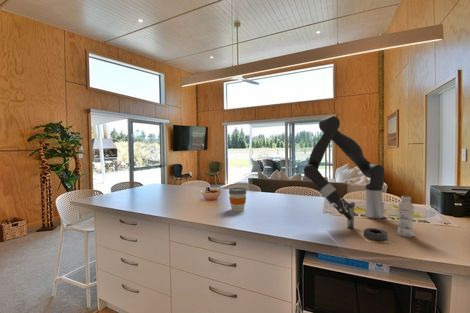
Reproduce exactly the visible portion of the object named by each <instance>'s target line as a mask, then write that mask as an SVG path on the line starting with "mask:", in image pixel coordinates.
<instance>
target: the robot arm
mask: <svg viewBox="0 0 470 313" xmlns="http://www.w3.org/2000/svg"><path fill="white" fill-rule="evenodd" d="M340 126H341V121H340V119H339V117H338V116H335V115H332V116H327V117H325V118H322V119H321V120H320V121H318V128H319V130H320V131H321V132H322V133H323V134H322V135H321V137H320V138H319V139H318V140H317V142H316V143H315V145H314V147H313V148H312V150H311V153H310V155H309V159H308V162H307V164H306V165H305V166H304V167H303V175H304V177H305V178H306V179H309V180H310V181H311V182H312V183H313V185H314V187H316V189H317V190H318V191H319V192H320V193H321V195H322V196H323V197H324V198H325V199H326V201H328V203H329V204H331V205H332V204H333V206H332V207H334V209H336V211H337V212H338V213H339V214H340V215H344V216H345V218H347V219H348V220H350V219H352V216H351V215H350V214H349V213H348V212H347V202H348V201H346V199H344V198H341V197H342V196H343V195H342V193H340V192H339V191H338V189H336V187H334V186H333V185H332V184H331V183H330V182H329V181H328V180H327V179H326V178H325V177H324V175H322V173H321V172H320V171H319V169H320V168H319V167H320V164H321V162H322V160H323V158H324V155H325V153H326V151H327V149H328V148H329V145H330V143H331V141H332V142H333V143H335V145H336V146H337V147H338V148H339V149H340V150H341V152H343V154H345V155H346V156H347V157H348V159H350V161H351V162H352V163H354V164H355V165H356V166H357V168H358V169H359V170H360V171H361V173H362V174H363V176H364V177H365V178H367V179H368V178H369V179H370V181H369V183H367V184H365V196H364V197H365V201H364V202H365V205H364V206H365V207H364V209H365V211H364V212H365V213H364V214H365V217H367V218H371V219H382V218H383V219H384V217H385V216H384V207H385V206H384V201H383V187H384V185H385V168H384V167H383V165H380V164H377V163H371V162H370V161H369V160H368V159H366V157H365V156H364V152H363V149H362V148H361V146H360V145H359V143H357V141H356V140H354V139H353V138H351V137H349V136H347V135H345V134H344V133H342V132H341V131H339V128H340ZM355 215H357V214H356V212H355V211H354V216H355ZM347 219H346V220H347Z"/></svg>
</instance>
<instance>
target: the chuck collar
mask: <svg viewBox="0 0 470 313" xmlns="http://www.w3.org/2000/svg"><path fill="white" fill-rule="evenodd" d="M363 233H364V237H366V238H367V239H369V240H373V241H386V240H387V237H388V232H387V231H385V230H383V229H379V228H373V227H372V228H371V227H370V228H368V227H367V228H365V229H363Z"/></svg>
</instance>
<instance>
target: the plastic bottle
mask: <svg viewBox="0 0 470 313" xmlns="http://www.w3.org/2000/svg"><path fill="white" fill-rule="evenodd" d="M414 206H415V205H413V203H412V197H411V196H409V195H401V201H400V202H399V203H398V206H397V209H398V227H397V231H396V232H397V235H398V236H400V237H404V238H413V237H414V234H415V233H414V227H413V226H414V224H413V218H414V212H415V207H414Z"/></svg>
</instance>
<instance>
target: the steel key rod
mask: <svg viewBox="0 0 470 313" xmlns="http://www.w3.org/2000/svg"><path fill="white" fill-rule="evenodd" d="M346 202H347V210H346V211H347V212H348V213H349V214H350V215H351V216H352V219H350V220H348V219H346V220H347V226H346V227H347V229H348V230H350V229H351V230H354V229H355V215H354V212H355V207H356V202H354V201H346Z"/></svg>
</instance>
